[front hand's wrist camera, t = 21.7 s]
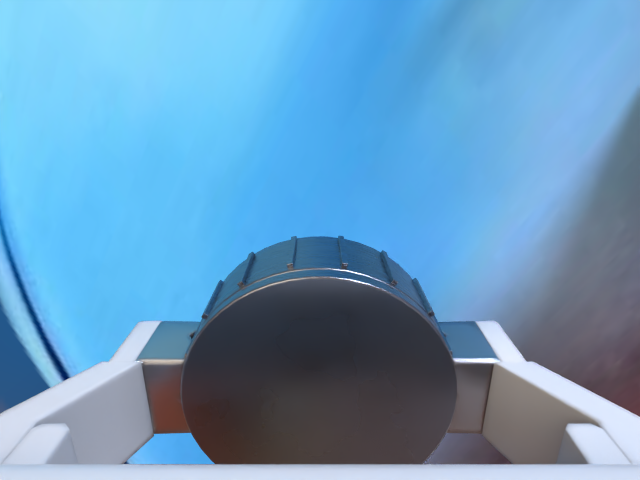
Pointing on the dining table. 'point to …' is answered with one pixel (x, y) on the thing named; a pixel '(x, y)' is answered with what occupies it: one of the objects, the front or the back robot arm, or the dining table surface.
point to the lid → (318, 361)
